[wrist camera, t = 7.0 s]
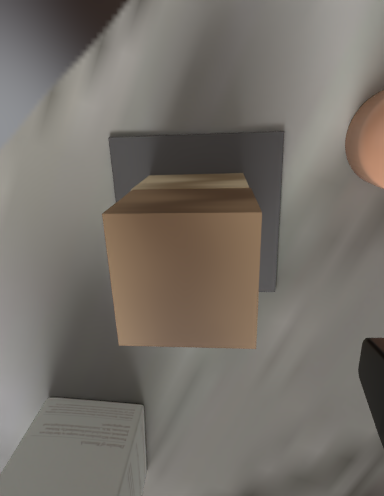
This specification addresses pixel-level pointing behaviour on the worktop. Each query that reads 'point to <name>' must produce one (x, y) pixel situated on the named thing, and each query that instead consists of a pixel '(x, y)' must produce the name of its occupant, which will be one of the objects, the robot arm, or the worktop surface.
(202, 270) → the walnut cube
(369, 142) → the peach rounded piece
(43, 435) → the supplement box
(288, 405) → the worktop surface
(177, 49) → the worktop surface
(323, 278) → the worktop surface
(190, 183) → the maple cube
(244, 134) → the pad
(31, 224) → the worktop surface
